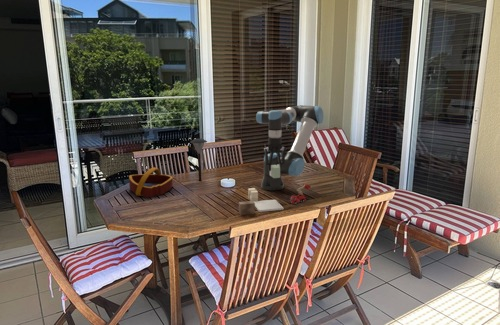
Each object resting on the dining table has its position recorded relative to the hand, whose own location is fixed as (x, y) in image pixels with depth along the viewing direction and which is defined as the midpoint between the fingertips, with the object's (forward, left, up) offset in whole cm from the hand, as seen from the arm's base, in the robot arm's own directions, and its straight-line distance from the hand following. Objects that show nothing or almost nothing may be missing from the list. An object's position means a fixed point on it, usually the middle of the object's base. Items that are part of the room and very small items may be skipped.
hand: (274, 175), depth 220 cm
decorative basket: (-40, -73, -15) cm, 85 cm away
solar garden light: (-53, -39, -15) cm, 67 cm away
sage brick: (0, 0, 0) cm, 0 cm away
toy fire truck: (+9, +13, -15) cm, 22 cm away
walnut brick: (+19, -22, -15) cm, 33 cm away
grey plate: (+12, -8, -15) cm, 20 cm away
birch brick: (-2, -13, -15) cm, 20 cm away
